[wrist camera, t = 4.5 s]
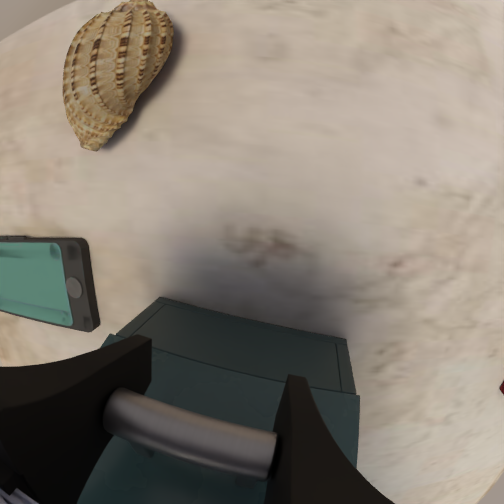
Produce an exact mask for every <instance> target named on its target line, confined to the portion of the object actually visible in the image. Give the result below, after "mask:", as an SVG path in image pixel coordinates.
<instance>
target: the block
mask: <svg viewBox="0 0 504 504" xmlns="http://www.w3.org/2000/svg"><path fill="white" fill-rule="evenodd" d="M500 390H501V392H502V393H503V394H504V382H503V384H502V386H501V387H500Z"/></svg>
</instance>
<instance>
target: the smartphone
mask: <svg viewBox="0 0 504 504" xmlns="http://www.w3.org/2000/svg"><path fill="white" fill-rule="evenodd" d="M0 311H2V312H5V313H9V314H12V315H16V316H20V317H24V318H27V319H31V320H35V321H39V322H44V323H48V324H52V325H56V326H61V327H65V328H70V329H75V330H79V331H84V332H92V331H93V330H94V329H95V328H97V327H98V326H99V324H100V320H99V315H98V309H97V304H96V298H95V292H94V285H93V279H92V272H91V264H90V256H89V247H88V244H87V242H86V241H85V240H84V239H83V238H27V237H26V236H11V237H8V236H7V237H0Z"/></svg>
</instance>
